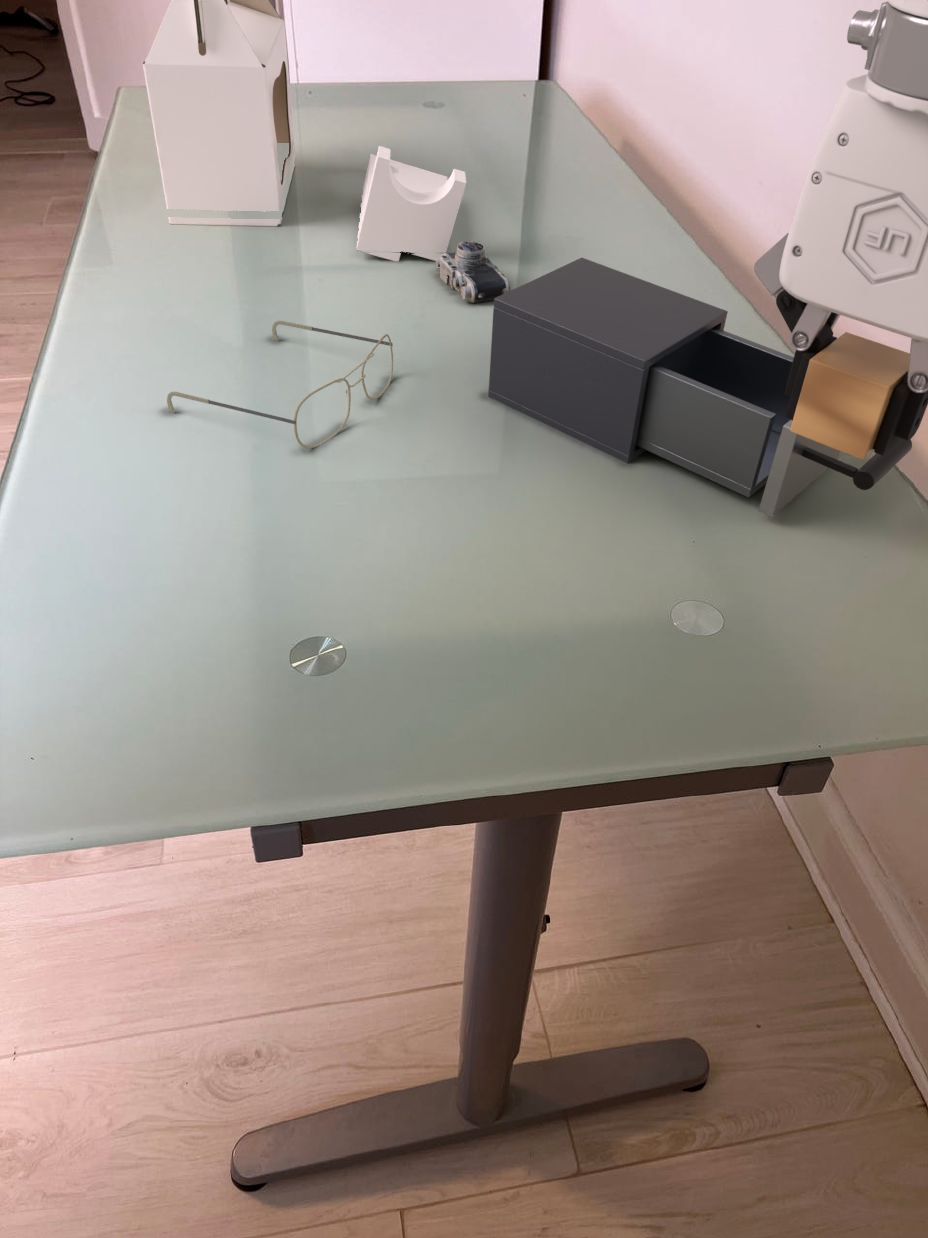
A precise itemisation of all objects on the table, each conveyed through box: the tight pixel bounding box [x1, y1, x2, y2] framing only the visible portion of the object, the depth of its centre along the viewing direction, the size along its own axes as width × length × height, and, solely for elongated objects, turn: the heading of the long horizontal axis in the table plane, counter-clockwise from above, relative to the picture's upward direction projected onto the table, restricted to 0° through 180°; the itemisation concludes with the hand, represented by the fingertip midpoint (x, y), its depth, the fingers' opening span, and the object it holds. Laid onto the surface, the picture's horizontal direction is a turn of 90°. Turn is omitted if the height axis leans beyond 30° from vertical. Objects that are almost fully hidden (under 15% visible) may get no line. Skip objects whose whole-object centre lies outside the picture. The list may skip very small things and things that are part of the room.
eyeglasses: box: [166, 320, 394, 449], centre depth 88 cm, size 16×15×5 cm
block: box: [790, 331, 910, 461], centre depth 54 cm, size 4×4×4 cm
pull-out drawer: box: [635, 327, 913, 518], centre depth 80 cm, size 20×11×8 cm, turn 48°
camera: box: [434, 240, 511, 303], centre depth 107 cm, size 5×10×4 cm, turn 22°
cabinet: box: [488, 257, 728, 464], centre depth 88 cm, size 16×13×10 cm
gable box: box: [142, 0, 295, 227], centre depth 117 cm, size 22×13×28 cm, turn 2°
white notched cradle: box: [356, 145, 467, 262], centre depth 116 cm, size 18×10×10 cm, turn 2°
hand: (845, 424), depth 55 cm, fingers closed on block, 4 cm apart
